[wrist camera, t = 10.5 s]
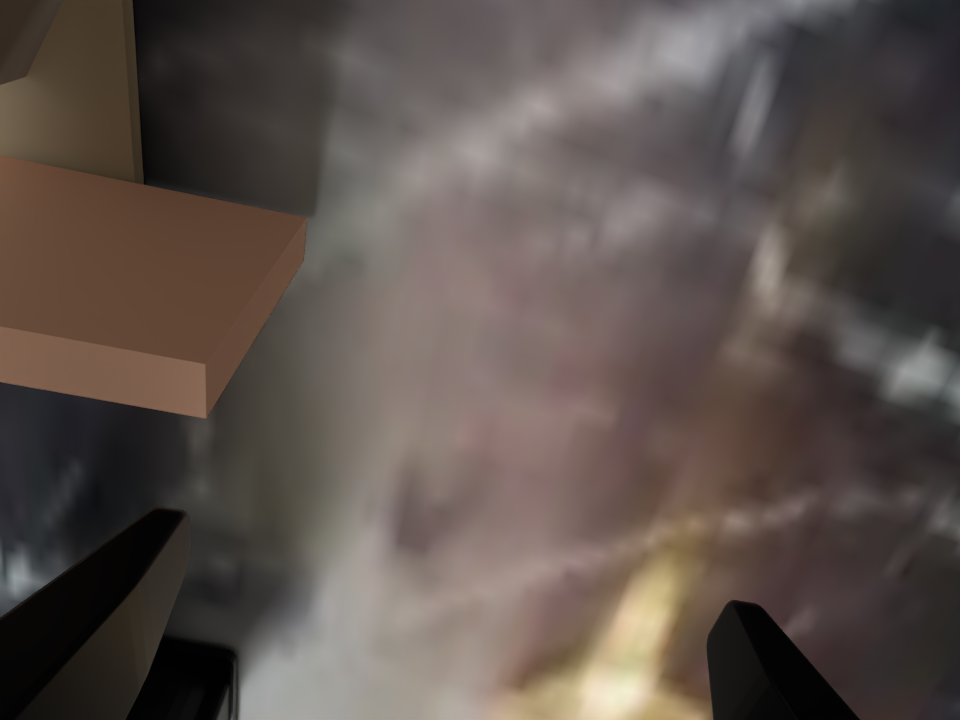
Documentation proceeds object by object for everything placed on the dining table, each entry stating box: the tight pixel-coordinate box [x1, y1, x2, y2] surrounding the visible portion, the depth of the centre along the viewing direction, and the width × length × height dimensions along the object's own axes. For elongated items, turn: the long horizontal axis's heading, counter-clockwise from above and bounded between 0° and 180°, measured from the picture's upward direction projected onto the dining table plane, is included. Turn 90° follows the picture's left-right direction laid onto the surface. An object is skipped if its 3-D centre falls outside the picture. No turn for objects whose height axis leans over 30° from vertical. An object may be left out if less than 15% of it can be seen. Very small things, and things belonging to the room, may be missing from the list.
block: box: [0, 156, 307, 419], centre depth 15 cm, size 8×1×7 cm, turn 79°
